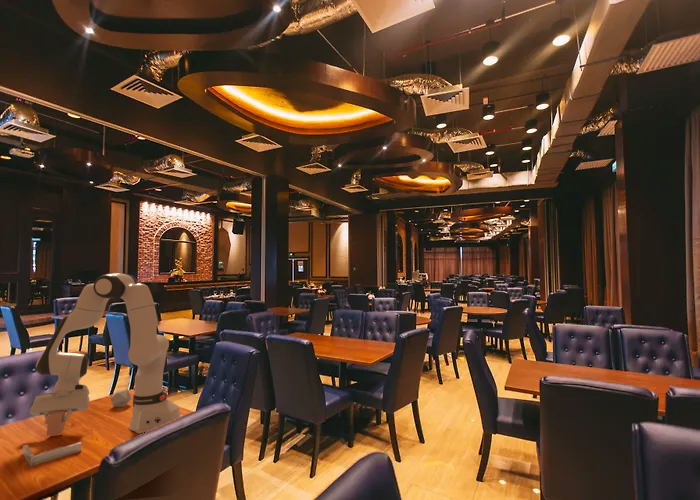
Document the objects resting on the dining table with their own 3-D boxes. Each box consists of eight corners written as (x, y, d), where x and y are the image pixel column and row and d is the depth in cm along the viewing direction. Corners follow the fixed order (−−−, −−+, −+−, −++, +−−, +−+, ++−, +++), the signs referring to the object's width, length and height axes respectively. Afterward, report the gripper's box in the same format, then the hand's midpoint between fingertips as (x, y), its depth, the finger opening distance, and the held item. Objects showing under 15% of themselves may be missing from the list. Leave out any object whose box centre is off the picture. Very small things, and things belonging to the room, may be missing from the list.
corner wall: (22, 453, 140) (23, 445, 140) (71, 440, 151) (71, 432, 151) (30, 466, 131) (30, 457, 131) (81, 451, 142) (81, 442, 142)
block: (64, 429, 158) (64, 410, 158) (60, 434, 153) (60, 414, 154) (51, 431, 156) (52, 412, 157) (46, 435, 152) (47, 415, 152)
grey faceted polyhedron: (115, 411, 183) (129, 394, 186) (103, 402, 185) (117, 384, 188) (124, 412, 191) (138, 394, 194) (112, 402, 192) (126, 385, 196)
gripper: (34, 390, 159) (22, 422, 149) (90, 385, 166) (82, 415, 156) (38, 397, 163) (27, 429, 153) (93, 392, 170) (85, 422, 160)
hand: (55, 422), depth 154 cm, fingers closed on block, 4 cm apart
